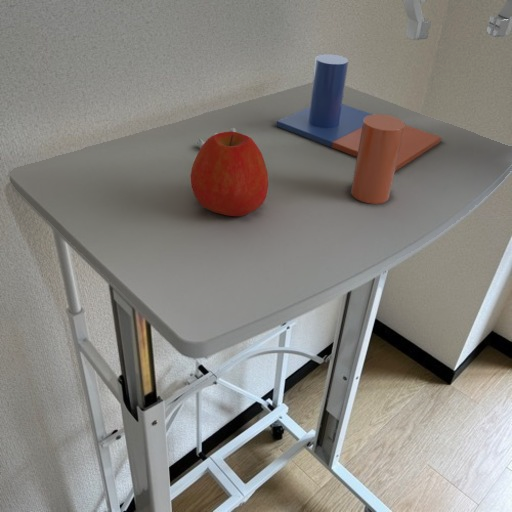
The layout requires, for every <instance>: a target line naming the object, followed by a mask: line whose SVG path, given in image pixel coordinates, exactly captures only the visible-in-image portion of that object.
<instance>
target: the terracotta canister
mask: <svg viewBox="0 0 512 512" xmlns="http://www.w3.org/2000/svg"><path fill="white" fill-rule="evenodd" d="M405 125H406V124H405V122H404V121H403V120H402V119H400V118H398V117H396V116H392V115H389V114H382V113H381V114H380V113H379V114H377V113H376V114H373V115H369V116H366V117H365V118H364V120H363V125H362V131H361V137H360V143H359V148H358V154H357V157H356V161H355V165H354V171H353V177H352V183H351V189H350V194H351V196H352V197H353V198H355V200H357V201H360V202H361V203H364V204H365V203H367V204H373V205H378V204H379V205H380V204H383V203H386V202H387V201H388V200H389V199H390V195H391V190H392V187H393V181H394V178H395V174H396V173H395V172H396V171H395V169H396V164H397V160H398V155H399V151H400V146H401V142H402V137H403V133H404V128H405Z"/></svg>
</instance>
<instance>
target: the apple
mask: <svg viewBox="0 0 512 512" xmlns="http://www.w3.org/2000/svg"><path fill="white" fill-rule="evenodd" d="M229 131H230V130H229ZM229 131H223V132H217V133H218V134H216V135H214V134H213V135H211V136H209V137H208V138H207V139H206V141H204V142H205V143H204V144H203V146H202V147H201V149H200V148H199V150H198V152H197V154H196V156H195V158H194V161H193V163H192V166H191V170H190V175H189V177H190V187H191V190H192V192H193V195H194V197H195V199H196V200H197V202H198V204H199V205H201V207H202V208H204V209H206V210H209V211H210V212H213V213H216V214H220V215H224V216H229V217H241V216H247V215H249V214H250V213H253V212H255V211H256V210H257V209H259V208H260V207H261V206H262V205H263V204H264V202H265V200H266V198H267V196H268V191H269V174H268V173H269V172H268V169H267V166H266V161H265V159H264V155H263V153H262V151H261V150H260V148H259V146H258V145H257V143H256V142H255V141H254V139H253V138H252V137H250V136H249V135H246V134H243V133H240V132H238V131H236V132H231V131H230V132H229Z"/></svg>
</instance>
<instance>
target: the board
mask: <svg viewBox="0 0 512 512" xmlns="http://www.w3.org/2000/svg"><path fill="white" fill-rule="evenodd" d="M309 111H310V106H309V107H307V108H304V109H302V110H299V111H297V112H295V113H292V114H290V115H287V116H286V117H283V118H281V119H278V120H276V127H278V128H280V129H283V130H286V131H288V132H291V133H294V134H296V135H299V136H301V137H304V138H307V139H309V140H312V141H314V142H317V143H320V144H323V145H324V146H327V147H330V148H333V149H335V150H338V151H341V152H343V153H345V154H348V155H351V156H353V157H356V158H357V154H358V148H359V143H360V137H361V131H362V125H363V120H364V118H365V117H366V116H369V115H374V114H373V113H370V112H367V111H364V110H361V109H358V108H355V107H352V106H350V105H346V104H343V103H342V108H341V115H340V122H339V125H338V126H336V127H332V128H322V127H317V126H314V125H312V124H310V123H309ZM441 140H442V137H441V136H439V135H436V134H433V133H430V132H428V131H424V130H421V129H418V128H415V127H413V126H409V125H406V124H405V128H404V133H403V137H402V142H401V146H400V151H399V155H398V160H397V164H396V169H395V172H396V171H398V170H400V169H401V168H403V167H404V166H406V165H408V164H409V163H411V162H412V161H413V160H415V159H416V158H418V157H420V156H421V155H423V154H425V153H426V152H427V151H429V150H431V149H432V148H433V147H436V146H437V145H438V144H440V143H441V142H442V141H441Z"/></svg>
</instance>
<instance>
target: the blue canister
mask: <svg viewBox="0 0 512 512" xmlns="http://www.w3.org/2000/svg"><path fill="white" fill-rule="evenodd" d="M348 66H349V59H348V58H347V57H345V56H342V55H339V54H338V55H337V54H331V53H330V54H326V53H324V54H319V55H317V56H315V58H314V68H313V78H312V86H311V94H310V104H309V107H310V111H309V123H310V124H312V125H314V126H317V127H322V128H332V127H336V126H338V125H339V122H340V115H341V108H342V104H343V100H344V94H345V93H344V92H345V86H346V79H347V74H348Z"/></svg>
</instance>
